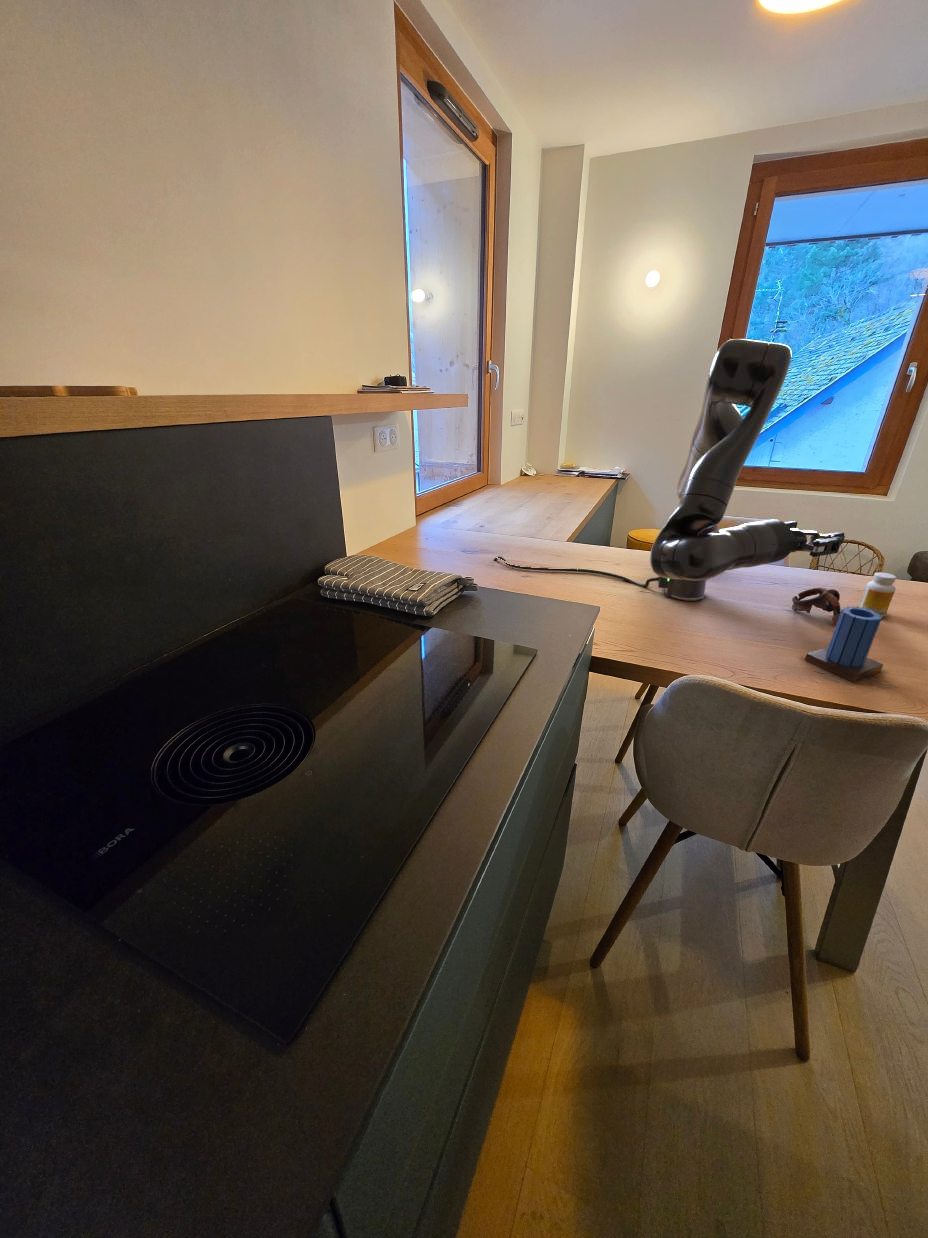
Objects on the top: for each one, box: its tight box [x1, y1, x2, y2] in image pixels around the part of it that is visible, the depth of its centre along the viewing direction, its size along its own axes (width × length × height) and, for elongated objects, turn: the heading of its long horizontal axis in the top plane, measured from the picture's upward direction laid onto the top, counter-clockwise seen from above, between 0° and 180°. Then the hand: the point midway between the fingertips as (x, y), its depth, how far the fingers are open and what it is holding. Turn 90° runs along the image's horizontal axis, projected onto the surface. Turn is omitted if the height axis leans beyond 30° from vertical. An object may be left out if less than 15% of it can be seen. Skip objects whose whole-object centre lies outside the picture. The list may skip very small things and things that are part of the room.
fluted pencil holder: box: [826, 606, 883, 667], centre depth 95 cm, size 6×6×10 cm
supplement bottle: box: [858, 572, 897, 618], centre depth 117 cm, size 5×5×10 cm
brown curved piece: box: [791, 587, 842, 627], centre depth 117 cm, size 12×10×8 cm
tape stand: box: [804, 646, 884, 682], centre depth 95 cm, size 9×9×10 cm
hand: (816, 532), depth 90 cm, fingers open, 8 cm apart
